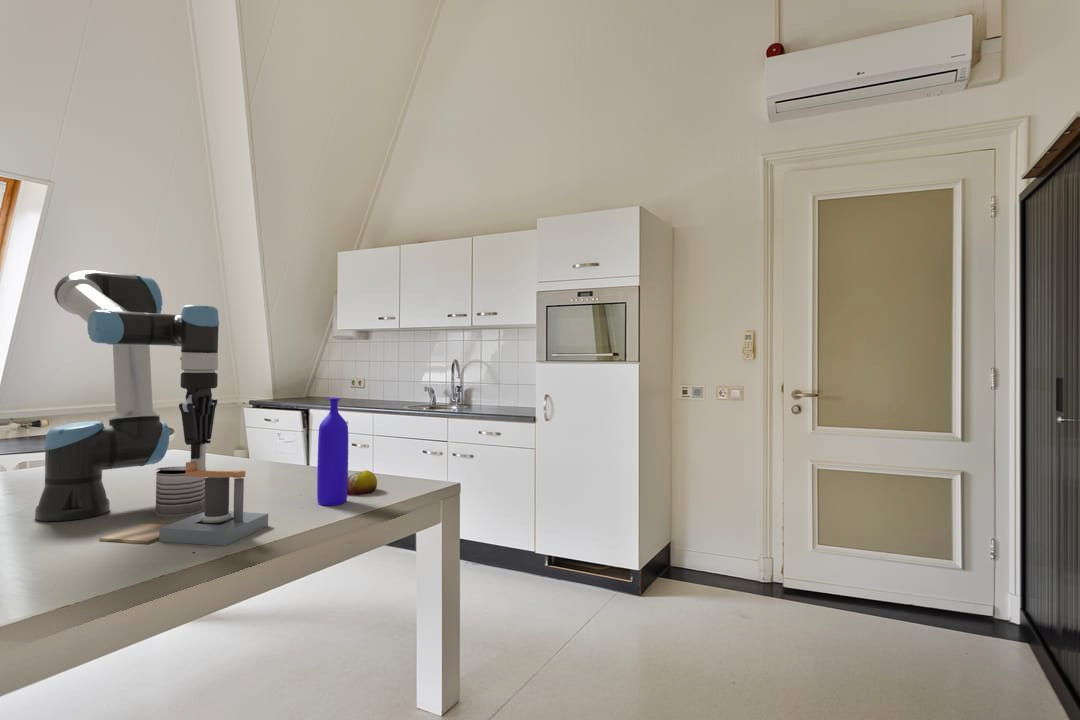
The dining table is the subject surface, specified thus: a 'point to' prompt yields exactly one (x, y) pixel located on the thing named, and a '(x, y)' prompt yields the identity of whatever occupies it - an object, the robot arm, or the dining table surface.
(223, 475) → the ball-ended peach stick
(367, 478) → the fruit
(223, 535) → the socket
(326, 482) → the bottle
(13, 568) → the dining table surface
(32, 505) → the dining table surface
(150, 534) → the coaster
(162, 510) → the can
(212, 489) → the plug
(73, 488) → the robot arm
